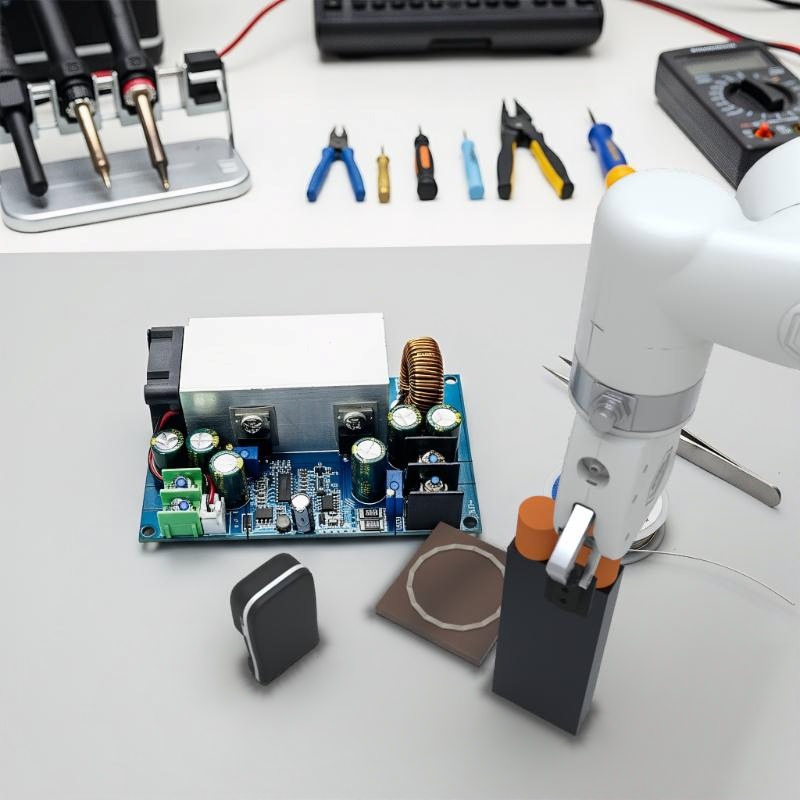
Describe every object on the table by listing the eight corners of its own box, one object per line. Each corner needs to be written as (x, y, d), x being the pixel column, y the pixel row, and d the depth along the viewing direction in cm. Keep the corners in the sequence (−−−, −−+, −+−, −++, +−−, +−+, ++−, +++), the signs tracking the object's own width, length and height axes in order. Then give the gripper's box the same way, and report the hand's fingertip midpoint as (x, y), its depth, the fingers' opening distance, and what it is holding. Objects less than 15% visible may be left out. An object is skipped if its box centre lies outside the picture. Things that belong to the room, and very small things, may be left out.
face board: (539, 573, 95) (540, 566, 94) (479, 667, 88) (479, 660, 87) (440, 527, 99) (440, 519, 99) (375, 612, 92) (374, 605, 91)
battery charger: (296, 615, 92) (285, 538, 84) (323, 641, 90) (315, 563, 82) (236, 662, 88) (219, 585, 81) (262, 689, 86) (248, 613, 79)
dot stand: (590, 708, 85) (625, 565, 71) (575, 736, 83) (608, 595, 69) (507, 665, 88) (525, 520, 74) (491, 691, 86) (506, 547, 72)
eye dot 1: (566, 537, 73) (571, 506, 71) (547, 567, 71) (551, 536, 69) (527, 520, 74) (531, 489, 72) (507, 549, 72) (510, 518, 70)
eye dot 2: (624, 564, 71) (632, 533, 69) (606, 595, 69) (613, 564, 67) (583, 545, 72) (589, 514, 70) (564, 575, 71) (570, 545, 68)
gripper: (639, 497, 51) (594, 674, 63) (744, 319, 62) (689, 499, 74) (510, 442, 54) (490, 621, 66) (631, 281, 65) (596, 460, 77)
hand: (595, 556), depth 70 cm, fingers open, 9 cm apart
